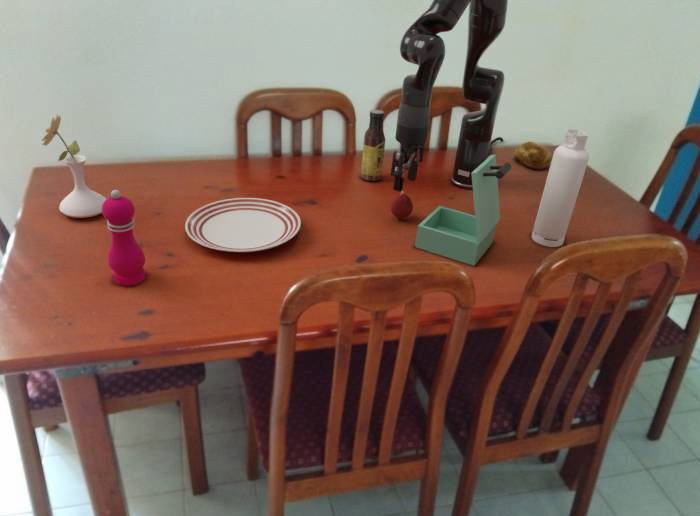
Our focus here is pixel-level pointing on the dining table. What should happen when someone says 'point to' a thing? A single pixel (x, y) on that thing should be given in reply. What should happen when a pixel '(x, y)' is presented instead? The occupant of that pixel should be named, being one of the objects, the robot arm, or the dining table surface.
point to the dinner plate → (243, 225)
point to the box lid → (487, 195)
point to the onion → (401, 206)
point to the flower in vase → (81, 198)
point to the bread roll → (533, 155)
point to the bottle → (561, 190)
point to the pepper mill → (123, 241)
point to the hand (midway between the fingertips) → (404, 185)
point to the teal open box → (452, 236)
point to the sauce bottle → (373, 148)
